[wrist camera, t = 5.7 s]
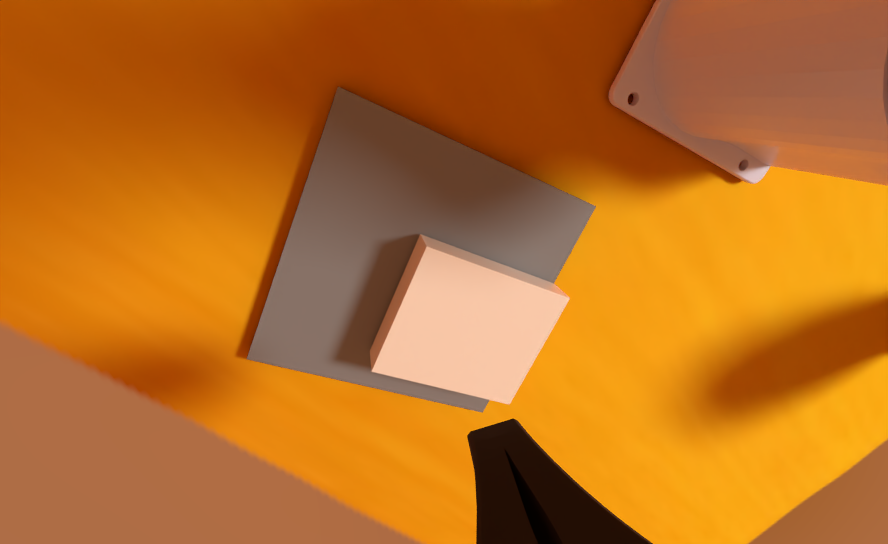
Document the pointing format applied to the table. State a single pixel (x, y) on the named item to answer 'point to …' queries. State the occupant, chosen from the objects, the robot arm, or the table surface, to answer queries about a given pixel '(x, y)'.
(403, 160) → the mat
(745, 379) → the table surface
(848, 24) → the robot arm
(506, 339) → the block
